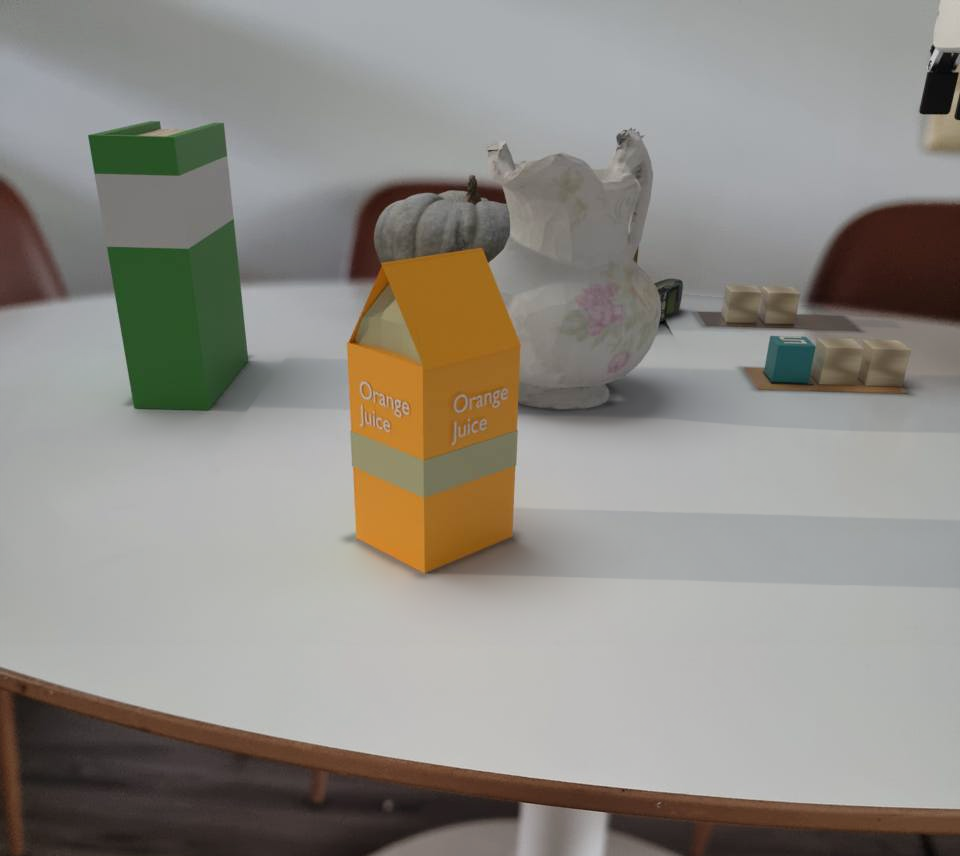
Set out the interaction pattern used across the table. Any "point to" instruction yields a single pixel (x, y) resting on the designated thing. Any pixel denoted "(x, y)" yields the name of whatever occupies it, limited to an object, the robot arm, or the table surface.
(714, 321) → the left board
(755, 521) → the table surface
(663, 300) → the mobile phone
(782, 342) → the teal block
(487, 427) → the orange juice
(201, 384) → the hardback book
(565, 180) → the ceramic pitcher
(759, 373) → the right board
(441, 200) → the gourd
